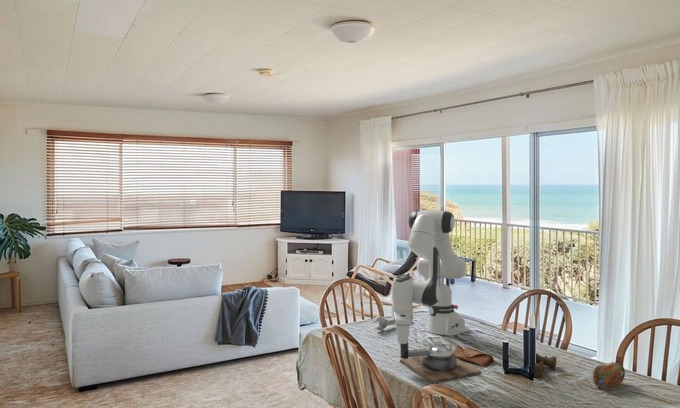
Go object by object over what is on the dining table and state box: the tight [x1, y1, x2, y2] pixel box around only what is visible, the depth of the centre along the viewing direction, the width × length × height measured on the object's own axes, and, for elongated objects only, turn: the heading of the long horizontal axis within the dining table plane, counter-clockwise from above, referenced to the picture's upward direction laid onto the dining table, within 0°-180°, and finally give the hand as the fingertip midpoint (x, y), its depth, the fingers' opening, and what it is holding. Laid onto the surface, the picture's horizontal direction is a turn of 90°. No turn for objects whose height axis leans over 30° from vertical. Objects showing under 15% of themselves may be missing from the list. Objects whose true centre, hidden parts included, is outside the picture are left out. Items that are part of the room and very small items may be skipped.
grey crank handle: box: [400, 340, 454, 360], centre depth 197 cm, size 23×11×7 cm, turn 107°
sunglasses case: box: [453, 345, 495, 368], centre depth 208 cm, size 18×7×7 cm, turn 47°
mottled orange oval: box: [592, 361, 626, 390], centre depth 182 cm, size 15×3×8 cm, turn 114°
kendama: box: [534, 352, 558, 379], centre depth 197 cm, size 6×10×20 cm
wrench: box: [372, 315, 413, 332], centre depth 254 cm, size 8×2×30 cm
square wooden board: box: [399, 354, 482, 384], centre depth 199 cm, size 24×24×5 cm
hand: (402, 346), depth 198 cm, fingers closed
